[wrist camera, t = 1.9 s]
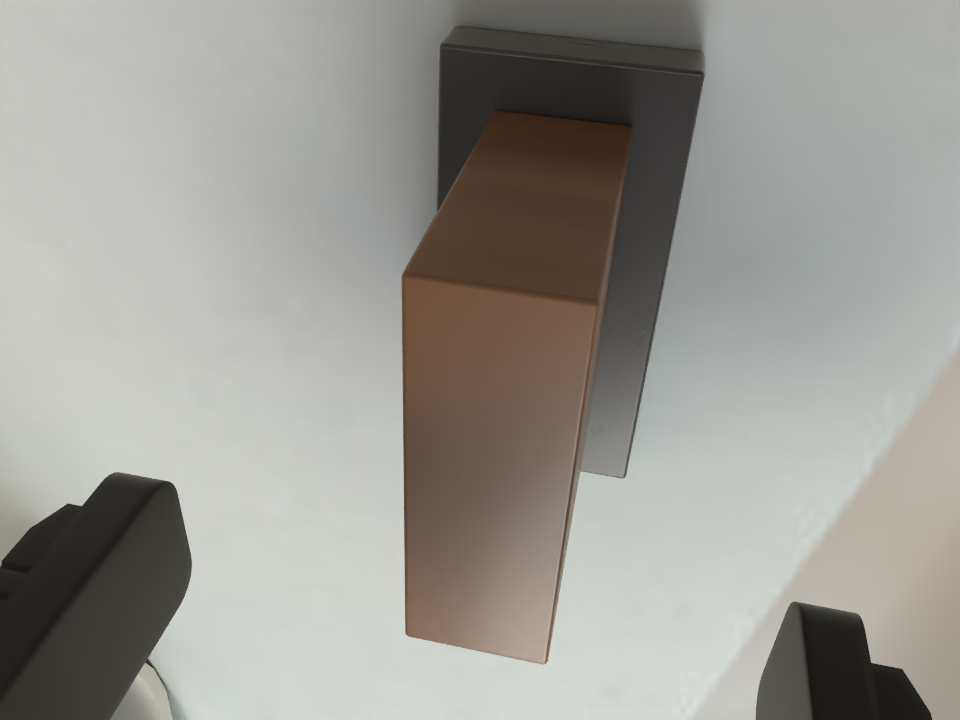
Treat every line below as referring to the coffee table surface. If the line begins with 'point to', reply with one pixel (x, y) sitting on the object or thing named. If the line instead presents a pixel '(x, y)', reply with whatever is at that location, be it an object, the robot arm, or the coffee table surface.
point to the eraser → (531, 315)
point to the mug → (144, 699)
